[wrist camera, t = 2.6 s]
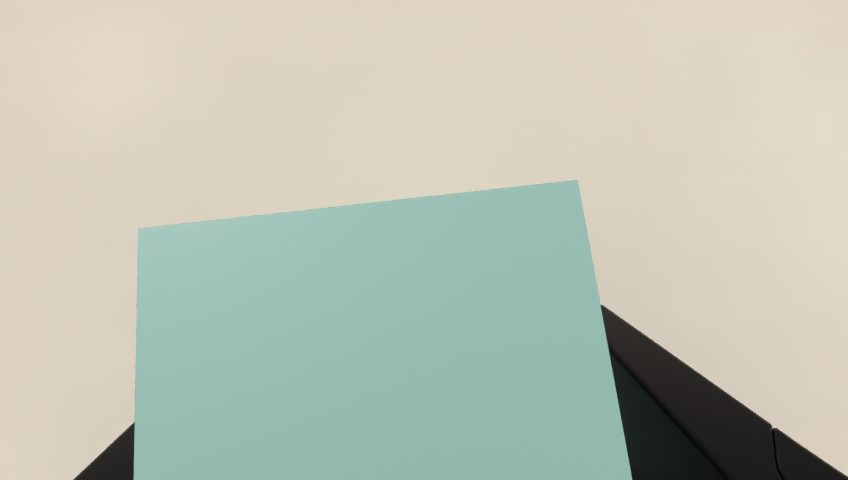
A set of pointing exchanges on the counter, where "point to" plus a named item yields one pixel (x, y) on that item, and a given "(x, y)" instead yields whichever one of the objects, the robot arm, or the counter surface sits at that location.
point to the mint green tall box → (378, 344)
